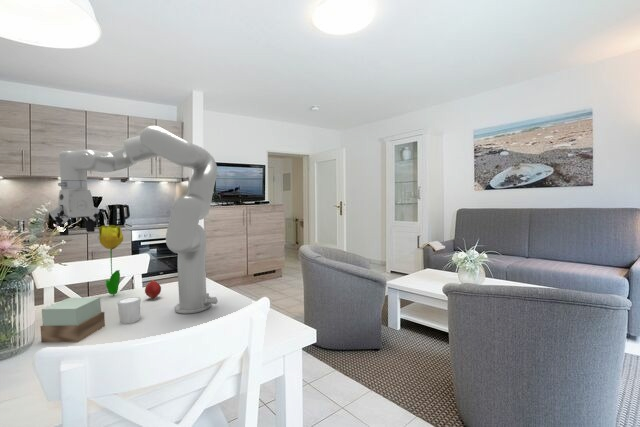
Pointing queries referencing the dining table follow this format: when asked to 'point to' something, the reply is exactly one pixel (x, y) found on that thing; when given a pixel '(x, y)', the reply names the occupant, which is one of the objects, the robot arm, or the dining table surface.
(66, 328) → the tower base block
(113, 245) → the flower
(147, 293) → the onion
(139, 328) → the dining table surface
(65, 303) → the tower top block
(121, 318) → the white cup
